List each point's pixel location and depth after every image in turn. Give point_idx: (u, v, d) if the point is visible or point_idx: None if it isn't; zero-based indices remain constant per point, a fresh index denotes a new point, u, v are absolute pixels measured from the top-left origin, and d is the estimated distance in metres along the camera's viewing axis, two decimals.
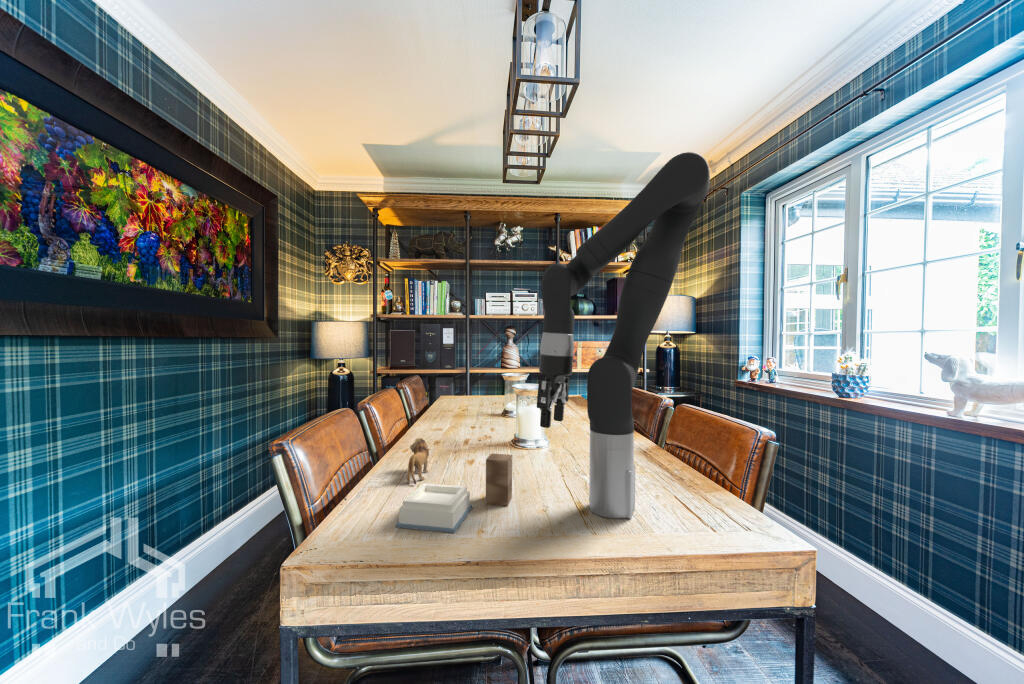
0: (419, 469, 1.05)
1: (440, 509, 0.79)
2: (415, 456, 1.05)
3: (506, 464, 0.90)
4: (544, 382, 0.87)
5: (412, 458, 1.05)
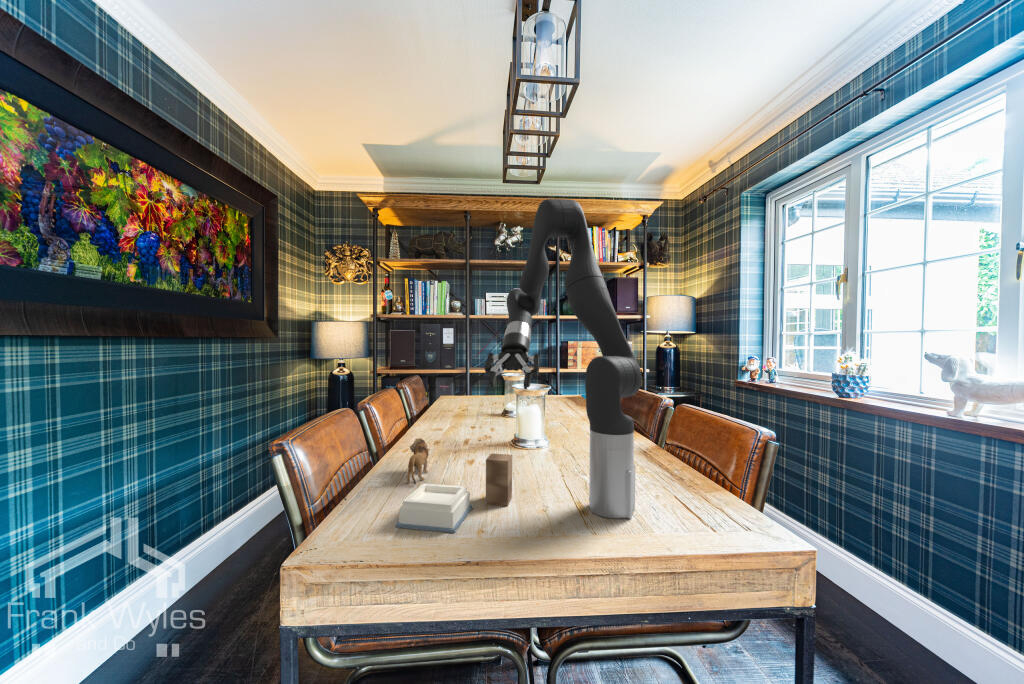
0: (419, 470, 1.05)
1: (440, 509, 0.79)
2: (415, 456, 1.05)
3: (506, 464, 0.90)
4: None
5: (412, 458, 1.04)
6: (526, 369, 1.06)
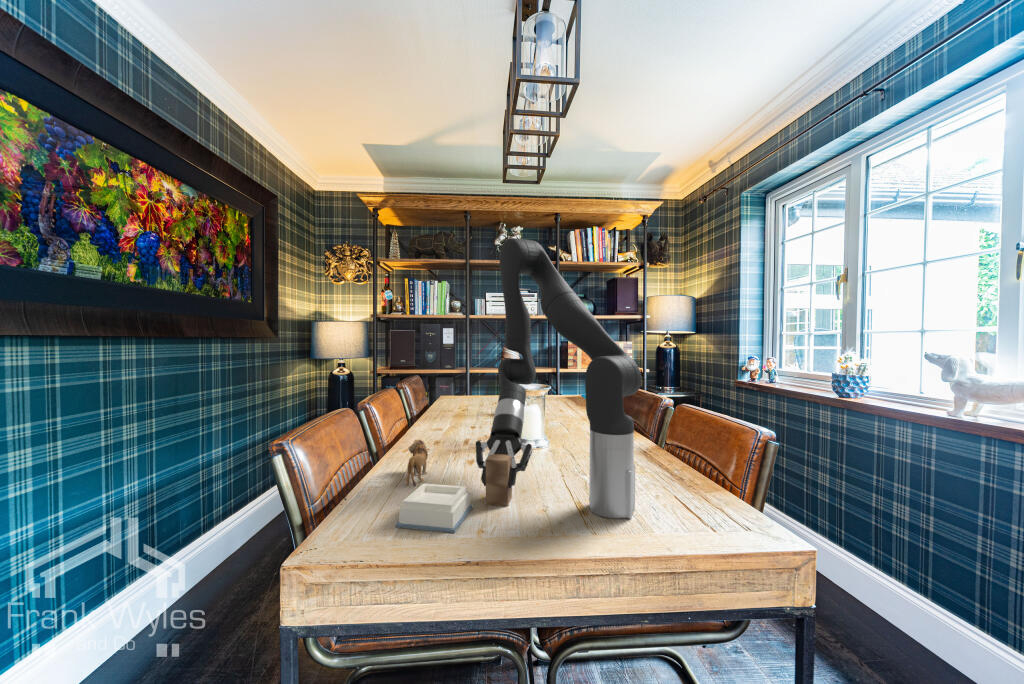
0: (418, 471, 1.04)
1: (440, 509, 0.79)
2: (414, 458, 1.04)
3: (506, 464, 0.90)
4: None
5: (411, 460, 1.03)
6: (512, 463, 0.93)
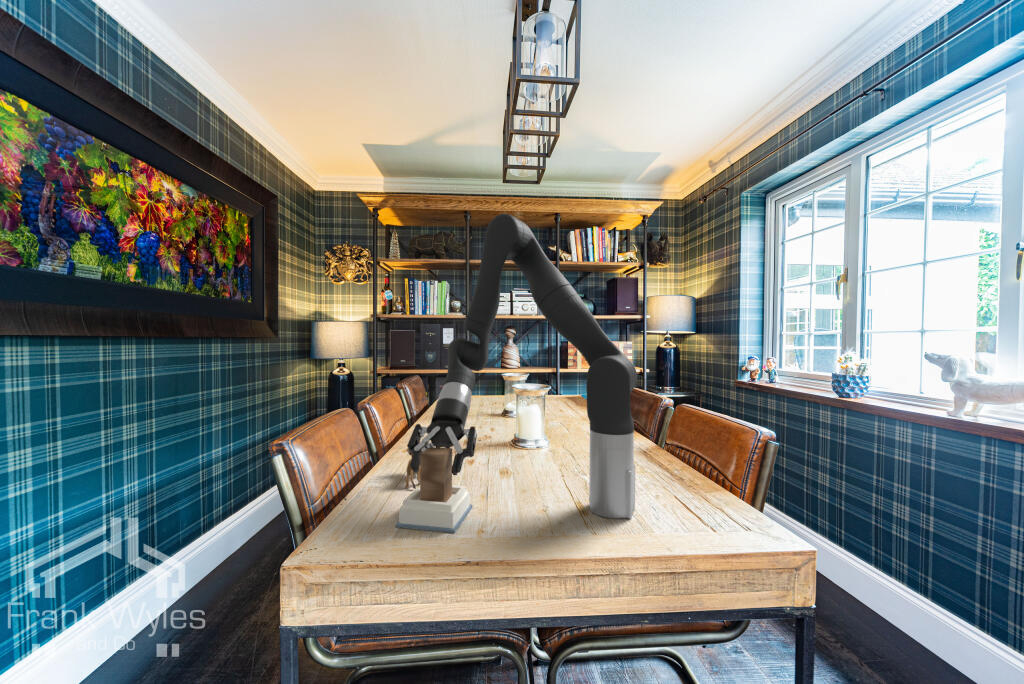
0: (418, 473, 1.02)
1: (440, 509, 0.79)
2: None
3: (442, 458, 0.82)
4: None
5: None
6: (457, 449, 0.85)
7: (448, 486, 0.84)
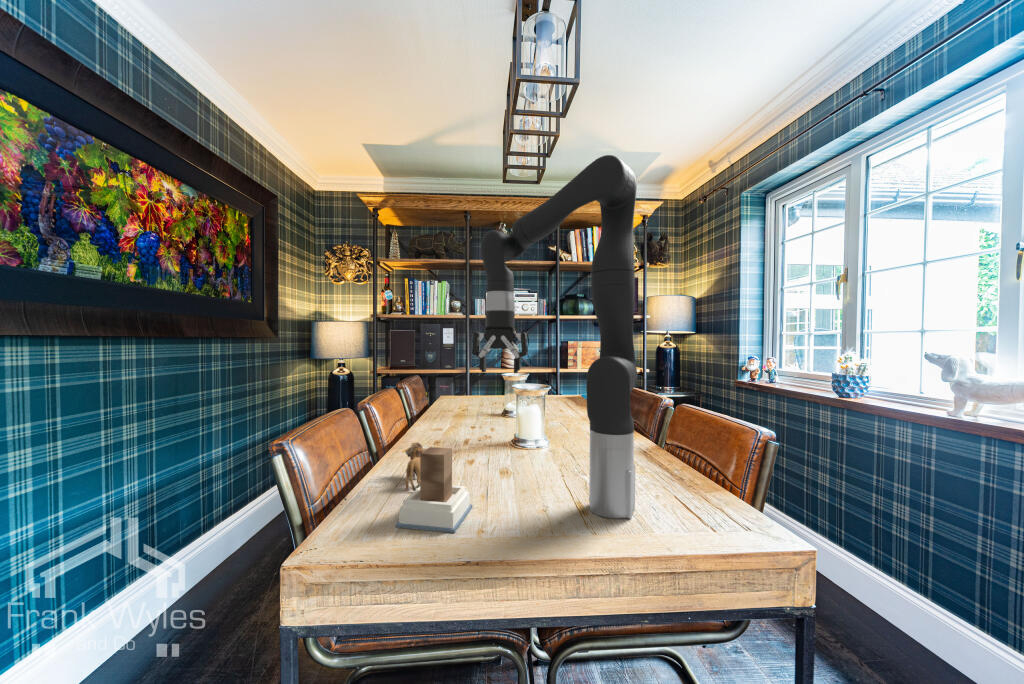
0: (418, 475, 1.01)
1: (440, 509, 0.79)
2: (413, 461, 1.01)
3: (442, 458, 0.82)
4: None
5: (410, 464, 1.00)
6: (514, 354, 1.04)
7: (448, 486, 0.84)
